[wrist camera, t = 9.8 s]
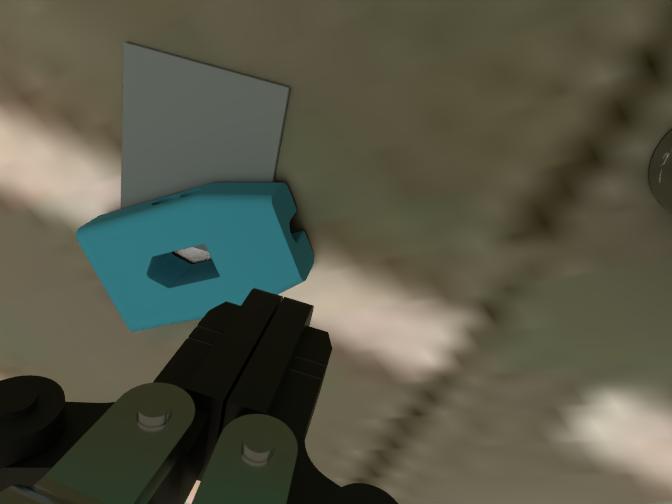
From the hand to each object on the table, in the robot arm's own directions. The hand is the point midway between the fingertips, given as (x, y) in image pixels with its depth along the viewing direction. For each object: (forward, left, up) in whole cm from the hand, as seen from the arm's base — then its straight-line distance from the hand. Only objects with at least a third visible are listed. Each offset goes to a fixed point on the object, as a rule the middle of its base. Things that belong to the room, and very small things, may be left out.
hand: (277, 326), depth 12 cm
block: (+5, +12, -30) cm, 33 cm away
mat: (+16, +10, -33) cm, 38 cm away
